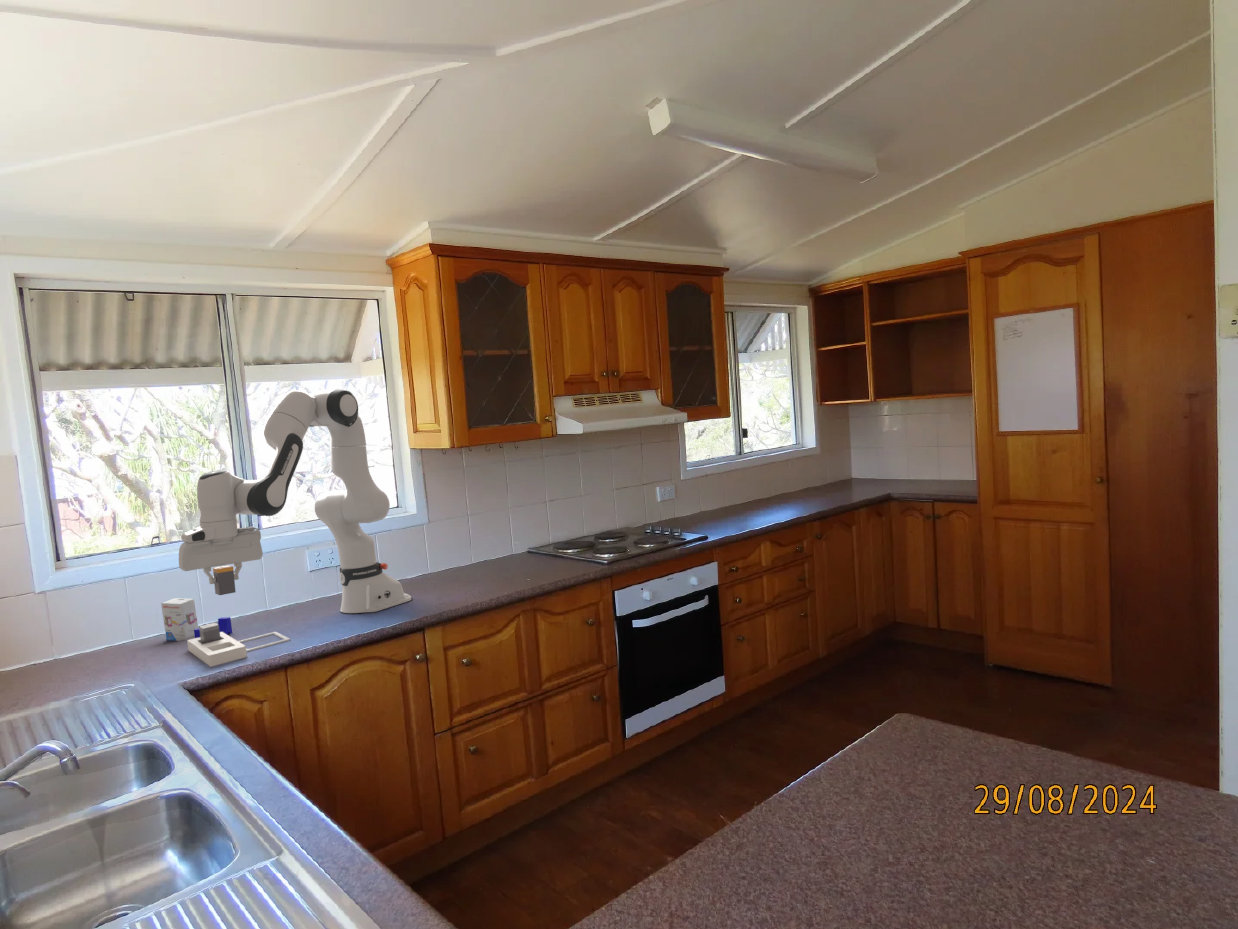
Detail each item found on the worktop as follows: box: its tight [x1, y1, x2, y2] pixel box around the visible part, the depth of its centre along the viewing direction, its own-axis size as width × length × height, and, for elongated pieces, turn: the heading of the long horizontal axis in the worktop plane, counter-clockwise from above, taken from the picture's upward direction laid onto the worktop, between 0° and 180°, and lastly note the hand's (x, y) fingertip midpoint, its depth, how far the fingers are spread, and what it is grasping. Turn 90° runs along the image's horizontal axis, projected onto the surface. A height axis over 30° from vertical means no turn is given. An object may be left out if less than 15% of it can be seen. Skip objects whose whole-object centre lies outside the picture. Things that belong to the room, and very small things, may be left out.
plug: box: [212, 565, 237, 596], centre depth 208 cm, size 4×4×7 cm
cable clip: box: [194, 616, 233, 638], centre depth 225 cm, size 12×4×6 cm, turn 172°
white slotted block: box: [186, 632, 248, 668], centre depth 210 cm, size 9×22×4 cm, turn 42°
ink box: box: [160, 597, 199, 642], centre depth 232 cm, size 9×5×12 cm, turn 70°
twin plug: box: [198, 622, 221, 644], centre depth 214 cm, size 4×4×7 cm
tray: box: [237, 631, 291, 653], centre depth 218 cm, size 12×12×1 cm
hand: (224, 581), depth 208 cm, fingers closed on plug, 4 cm apart
